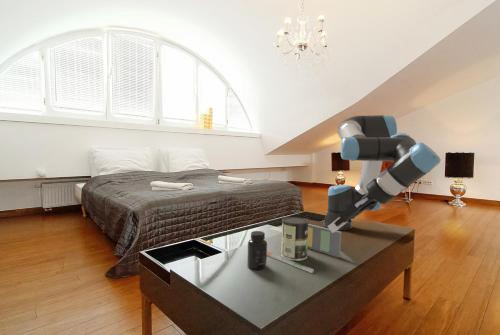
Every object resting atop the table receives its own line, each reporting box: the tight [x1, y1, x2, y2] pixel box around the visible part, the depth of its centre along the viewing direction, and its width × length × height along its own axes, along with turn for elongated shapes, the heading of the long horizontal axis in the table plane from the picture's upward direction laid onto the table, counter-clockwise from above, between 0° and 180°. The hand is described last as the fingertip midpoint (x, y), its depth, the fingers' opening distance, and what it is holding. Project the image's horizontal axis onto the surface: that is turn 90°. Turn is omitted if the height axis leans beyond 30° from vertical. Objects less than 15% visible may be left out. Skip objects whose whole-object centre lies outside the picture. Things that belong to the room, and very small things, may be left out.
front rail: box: [267, 251, 315, 274], centre depth 95 cm, size 1×26×1 cm, turn 45°
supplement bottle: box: [246, 230, 268, 271], centre depth 89 cm, size 7×7×12 cm
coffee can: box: [280, 216, 310, 262], centre depth 100 cm, size 10×10×14 cm
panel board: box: [307, 223, 342, 259], centre depth 108 cm, size 1×26×10 cm, turn 45°
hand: (330, 229), depth 89 cm, fingers closed
